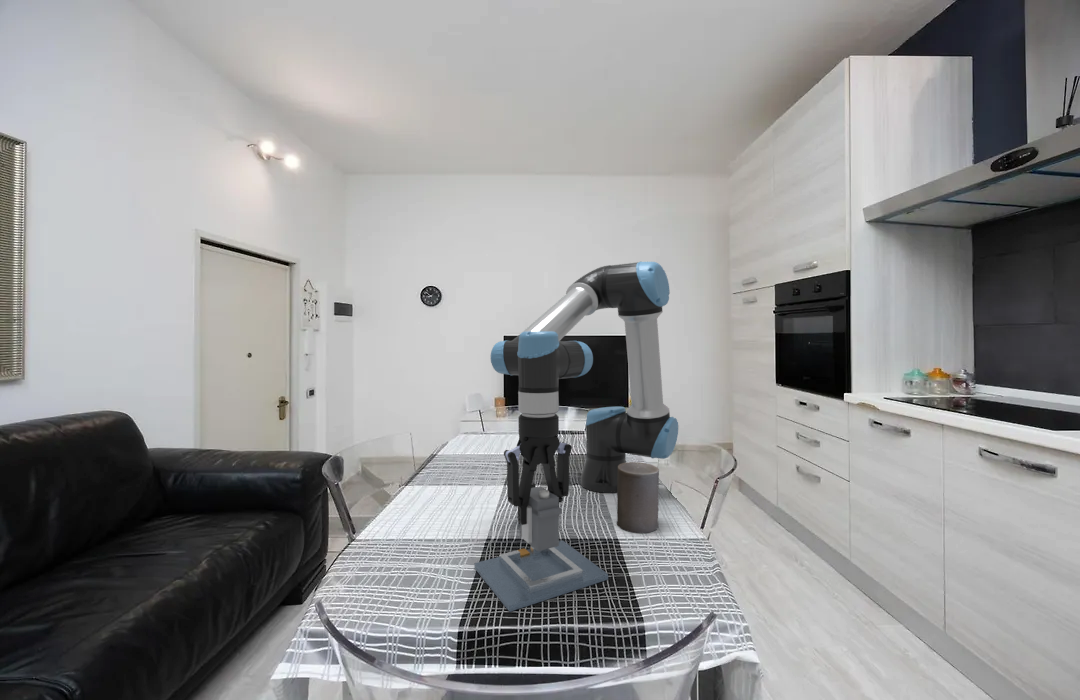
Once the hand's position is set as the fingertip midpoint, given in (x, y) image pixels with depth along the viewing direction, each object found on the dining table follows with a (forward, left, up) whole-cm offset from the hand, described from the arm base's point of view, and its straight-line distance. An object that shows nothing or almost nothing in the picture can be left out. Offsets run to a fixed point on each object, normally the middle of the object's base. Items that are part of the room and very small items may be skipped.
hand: (539, 536), depth 86 cm
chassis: (0, 0, -7) cm, 7 cm away
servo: (0, 0, -1) cm, 1 cm away
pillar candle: (-31, -8, -7) cm, 33 cm away
